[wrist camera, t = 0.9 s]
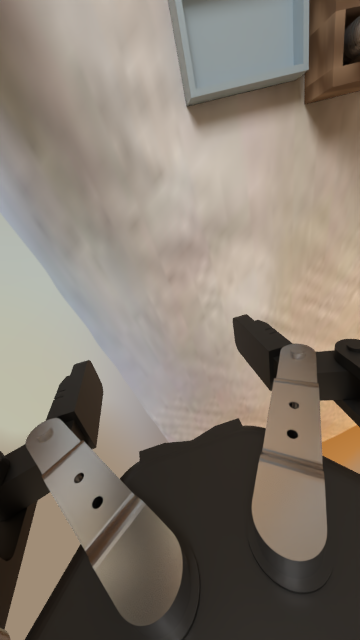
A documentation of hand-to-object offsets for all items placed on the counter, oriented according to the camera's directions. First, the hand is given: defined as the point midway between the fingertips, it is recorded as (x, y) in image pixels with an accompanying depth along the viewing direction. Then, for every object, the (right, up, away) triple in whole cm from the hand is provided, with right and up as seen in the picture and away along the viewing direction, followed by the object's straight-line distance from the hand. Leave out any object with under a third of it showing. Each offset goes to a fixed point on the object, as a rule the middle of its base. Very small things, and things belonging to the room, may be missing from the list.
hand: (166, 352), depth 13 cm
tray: (+8, +36, +16) cm, 40 cm away
